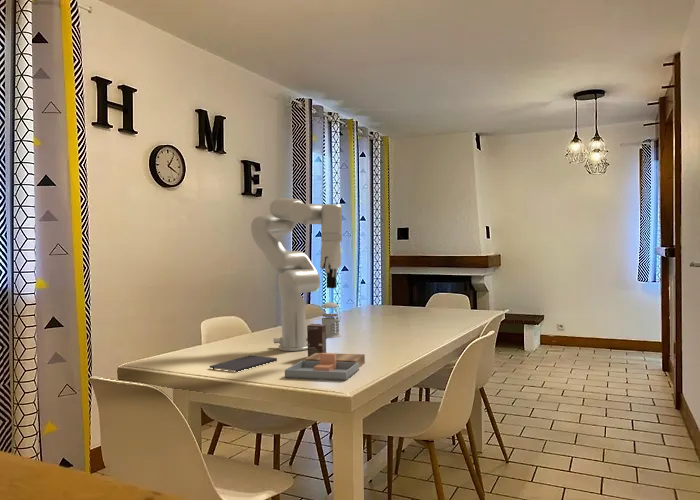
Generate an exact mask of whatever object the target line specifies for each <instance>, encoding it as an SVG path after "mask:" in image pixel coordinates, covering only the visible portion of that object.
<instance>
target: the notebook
mask: <svg viewBox="0 0 700 500" xmlns="http://www.w3.org/2000/svg"><path fill="white" fill-rule="evenodd" d="M274 361H275V362H277V361H278V358H277V357H270V356H269V357H268V356H261V355H253V354H249V355H246V356H241V357H237V358H234V359H231V360H227V361H224V362H223V361H222V362H219V363H215V364H212V365H209V366H208V367H209V369H210V368H213V369H221V370H228V371H235V372H238V371H241V370H244V369H248V370H250V369H249V368H251V369H253V368H252V367H255V368H257V367H256V366H258V367H260V366H259V365H261V366H264V365H263V364H265V365H267V364H266V363H268V364H271V363H270V362H272V363H275V362H274ZM241 372H242V371H241ZM238 373H239V372H238Z"/></svg>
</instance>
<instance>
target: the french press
mask: <svg viewBox="0 0 700 500" xmlns="http://www.w3.org/2000/svg"><path fill="white" fill-rule="evenodd" d="M330 289H331V288H328V290H329V296H331V290H330ZM339 306H340V305H339V304H338V303H335V302H331V301H329V302H326V303H323V304H322V305H320V308H324V309H333V310H332V311H335V312H336V313H324V314H322V318H321V324H325V325H326V339H334V338H340V337H342V334H341V333H340V322H341V319H340V317H338V316H339V314H338V311H339V313H341V311H340V309H339Z"/></svg>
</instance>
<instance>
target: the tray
mask: <svg viewBox="0 0 700 500" xmlns="http://www.w3.org/2000/svg"><path fill="white" fill-rule="evenodd" d="M318 364H320V361H305V360H300V361H297V362H296V363H295V364H293V365H290V366H289V367H288V368H285V369H284V378H285V379H298V380H299V379H301V380H303V379H305V380H321V381H322V380H325V381H326V380H327V381H341V382H342V381H344V382H345V381H348V380H349V379H350V378H352V377H353V376H354V375H355V374H356V373H357V372H359V371H360V367H359V363H355V362H336V364H337V368H336V369H335V370H334V371H314V367H315V366H316V365H318Z"/></svg>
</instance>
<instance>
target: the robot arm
mask: <svg viewBox="0 0 700 500" xmlns="http://www.w3.org/2000/svg"><path fill="white" fill-rule="evenodd" d="M269 212H270V214H262V215H257V216H255V217H254V218H253V219H252V221H251V223H250V232H251V237H252V239H253V241H254V243H255V244H256V245H257V247H259V249H260V250H261V251H262V253H263V254H264V256H265V258H266V260H267V261H268V263H269V265H270V266H271V268H272V270H273V271H274V272H275V274H279V276H278V278H277V279H278V280H277V282H278V283H277V284H278V289H279V293H280V302H281V304H280V305H281V335H282V336H281V337H274V338H273V343H274V344H279V345H278V350H280V351H285V352H300V351H301V352H302V351H305V350H308V343H307V322H306V320H307V319H306V301H305V300H304V298H303V296H302V293H313V292H316V291H317V290H319V288H320V286H321V277H320V275H319V273H318V271H317V269H316V268H315V266H314V264H313V263H312V261H311V259H310V258H309V256H308V255H307V254H306V253H304V252H303V251H300V250H288V249H286V248H285V247H284V245H283V243H282V242H281V241H280V240H279V239H278V238H276V237H275V236H285V235H287V234H289V233H291V232H292V231H293V229H294V228H295V227H296V226H297V224H302V225H321V227H320V228H321V246H320V247H321V248H320V262H319V263H320V264H319V265H320V269H322V270H323V269H324V273H325V274H326V288H327V289H329V288H330V289H336V288H337V275H338V274H337V273H338V270H339V269H340V267H341V265H342V261H341V260H342V253H341V252H342V251H341V243H342V242H343V241H342V240H343V238H342V237H343V235H342V234H343V217H342V216H343V207H342V206H341V205H340V204H336V203H335V204H334V203H330V204H329V203H327V204H320V203H318V204H317V203H304V202H303V201H301V200H300V199H299V198H286V197H285V198H284V197H279V198H274V199H273V200H272V201H271V203H270V205H269Z"/></svg>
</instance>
